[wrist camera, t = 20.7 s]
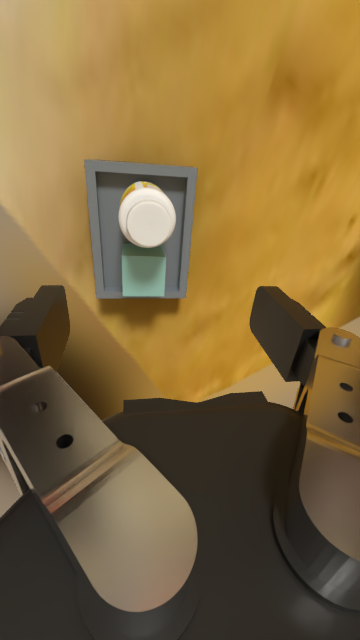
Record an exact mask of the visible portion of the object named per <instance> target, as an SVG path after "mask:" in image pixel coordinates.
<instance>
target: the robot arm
mask: <svg viewBox="0 0 360 640" xmlns="http://www.w3.org/2000/svg"><path fill="white" fill-rule="evenodd" d="M250 328H251V331H252V333H253V334H254V336H255V337H256V339H257V340H258V342H259V343H260V345H261V346H262V348H263V349H264V351H265V352H266V354H267V355H268V356H269V358H270V359H271V361H272V362H273V364H274V365H275V367H276V368H277V369H278V371H279V373H280V374H281V376H282V377H283V378H284V380H285V381H286V382H291V381H300V382H301V383H300V386H299V388H298V391H297V395H296V399H295V403H294V407H293V409H291V408H288V407H286V406H283V405H280V404H276V403H271V402H268V401H267V400H266V398H265V396H264V394H263V393H262V391H261V392H246V393H230V394H227V395H224V396H220V397H216V398H213V399H210V400H206V401H203V402H198V403H194V402H187V401H179V400H171V399H164V398H152V399H137V400H124V410H123V412H120V413H117V414H115V415H112V416H110V417H107V418H105V419H103V420H102V421H101V420H100V419H99V418H98V417H97V416H96V414H95V413H94V412H93V411H92V410H91V409H90V408H89V407H88V406H87V405H86V404H85V403H84V402H83V400H82V399H81V398H80V397H79V396H78V395H77V394H76V393H75V392H74V391H73V390H72V389H71V388H70V386H69V385H68V384H67V383H66V382H65V381H64V380H63V379H62V378H61V377H60V376H59V375H58V373H57V371H58V367H59V365H60V362H61V359H62V355H63V352H64V350H65V346H66V343H67V340H68V337H69V333H70V321H69V314H68V307H67V300H66V294H65V289H64V287H63V286H62V285H60V286H59V285H48V286H47V285H45V286H44V285H43V286H41V287H40V289H39V290H38V292H37V293H36V295H35V296H34V298H26V299H25V300H23V301H22V302H20V303H18V304H17V305H16V306H15V307H14V309H13V310H12V311H11V313H10V314H9V315H8V317H7V319H6V320H5V321H4V322H3V323H2V325H1V326H0V454H1V456H2V458H3V459H4V461H5V463H6V465H7V467H8V469H9V471H10V473H11V475H12V477H13V479H14V482H15V484H16V486H17V488H18V490H19V492H20V494H21V497H20V498H19V499H18V500H17V501H16V502H15V503H14V504H13V505H12V506H11V508H9V510H7V511H6V513H5V514H4V515H3V516H2V517H1V518H0V640H360V338H359V337H357V336H356V335H354V334H352V333H350V332H348V331H345V330H342V329H338V328H326V327H325V326H324V325H323V324H322V323H321V322H320V321H318V320H317V319H316V318H315V317H314V316H313V315H311V313H310V312H308V311H307V310H305V308H304V307H303V306H302V305H301V304H299V303H298V302H296V301H294V300H293V299H291V298H289V297H288V296H287V295H286V294H285V293H284V292H283V291H282V290H280V289H279V288H278V287H277V286H260V287H258V289H257V291H256V294H255V298H254V303H253V307H252V312H251V316H250Z"/></svg>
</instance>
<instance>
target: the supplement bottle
mask: <svg viewBox="0 0 360 640" xmlns="http://www.w3.org/2000/svg"><path fill="white" fill-rule="evenodd" d="M118 218H119V225H120V228H121V230H122V232H123V234H124V235H125V237H126V238H127V239H128V240H129V241H130V242H132V243H133V244H135V245H137V246H140V247H144V248H153V247H157V246H159V245H161V244H163V243H164V242H166V241H167V240H168V239H169V237H170V236H171V235H172V233H173V231H174V228H175V224H176V213H175V209H174V207H173V204H172V203H171V201H170V199H169V198H168V197H167V196H166V195H165V194H164V193H163V191H162V190H161V189H160V188H159V187H158V186H156V185H155V184H153V183H150V182H146V181H139V182H135V183H133V184H131V185H130V186H129V187H127V189H126V190H125V191H124V193H123V194H122V197H121V201H120V207H119V214H118Z"/></svg>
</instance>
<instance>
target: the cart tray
mask: <svg viewBox="0 0 360 640" xmlns="http://www.w3.org/2000/svg"><path fill="white" fill-rule="evenodd" d="M84 162H85V173H86V184H87V195H88V207H89V218H90V229H91V240H92V251H93V262H94V274H95V285H96V296H97V299H116V298H186V291H187V279H188V268H189V257H190V245H191V234H192V223H193V212H194V200H195V189H196V178H197V168H195V167H186V166H173V165H160V164H146V163H133V162H120V161H106V160H93V159H85V160H84ZM139 181H146V182H150V183H153V184H155V185H156V186H158V187H159V188H160V189H161V190H162V191H163V193H164V194H165V195H166V196H167V197H168V198H169V199H170V201H171V203H172V204H173V207H174V209H175V213H176V224H175V228H174V231H173V233H172V235H171V236H170V237H169V239H168V240H167V241H166V242H164V243H163V244H161V245H162V246H163V249H164V252H165V255H166V272H165V290H164V296H123V286H122V245H123V243H130V244H133V243H132V242H130V241H129V240H128V239H127V238H126V237H125V235H124V234H123V232H122V230H121V228H120V225H119V218H118V214H119V207H120V201H121V197H122V194H123V193H124V191H125V190H126V189H127V187H129V186H130V185H131V184H133V183H135V182H139Z"/></svg>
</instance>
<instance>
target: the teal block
mask: <svg viewBox="0 0 360 640" xmlns="http://www.w3.org/2000/svg"><path fill="white" fill-rule="evenodd" d="M165 272H166V255H165V252H164V249H163V246H162V245H159V246H157V247H153V248H144V247H140V246H137V245H135V244H130V243H123V245H122V286H123V296H164V290H165Z"/></svg>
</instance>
